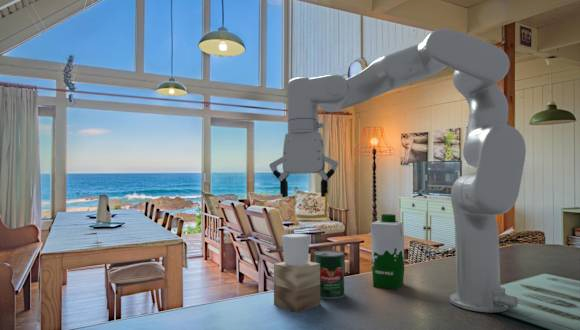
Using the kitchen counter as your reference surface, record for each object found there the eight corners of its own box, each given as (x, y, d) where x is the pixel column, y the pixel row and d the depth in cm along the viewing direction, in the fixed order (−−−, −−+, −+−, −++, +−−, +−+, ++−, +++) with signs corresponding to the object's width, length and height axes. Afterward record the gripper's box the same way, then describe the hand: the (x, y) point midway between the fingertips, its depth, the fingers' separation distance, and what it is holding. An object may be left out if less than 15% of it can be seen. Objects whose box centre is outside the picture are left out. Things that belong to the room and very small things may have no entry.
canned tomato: (332, 288, 104) (332, 249, 105) (350, 296, 97) (350, 253, 98) (308, 293, 100) (308, 251, 101) (325, 301, 93) (325, 256, 94)
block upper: (320, 284, 91) (319, 263, 91) (297, 291, 85) (296, 269, 86) (296, 278, 97) (296, 259, 97) (273, 284, 91) (273, 263, 91)
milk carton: (406, 283, 109) (405, 214, 110) (400, 291, 101) (399, 217, 102) (377, 279, 113) (375, 213, 114) (368, 287, 105) (367, 216, 106)
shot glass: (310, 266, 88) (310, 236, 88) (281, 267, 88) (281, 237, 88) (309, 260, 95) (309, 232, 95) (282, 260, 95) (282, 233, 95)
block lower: (320, 305, 91) (320, 284, 91) (297, 313, 85) (296, 291, 85) (297, 298, 96) (297, 278, 97) (273, 305, 91) (273, 284, 91)
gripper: (338, 128, 95) (340, 196, 94) (273, 131, 99) (274, 196, 98) (336, 124, 88) (337, 197, 87) (265, 127, 91) (266, 197, 91)
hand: (304, 196), depth 92 cm, fingers open, 9 cm apart
